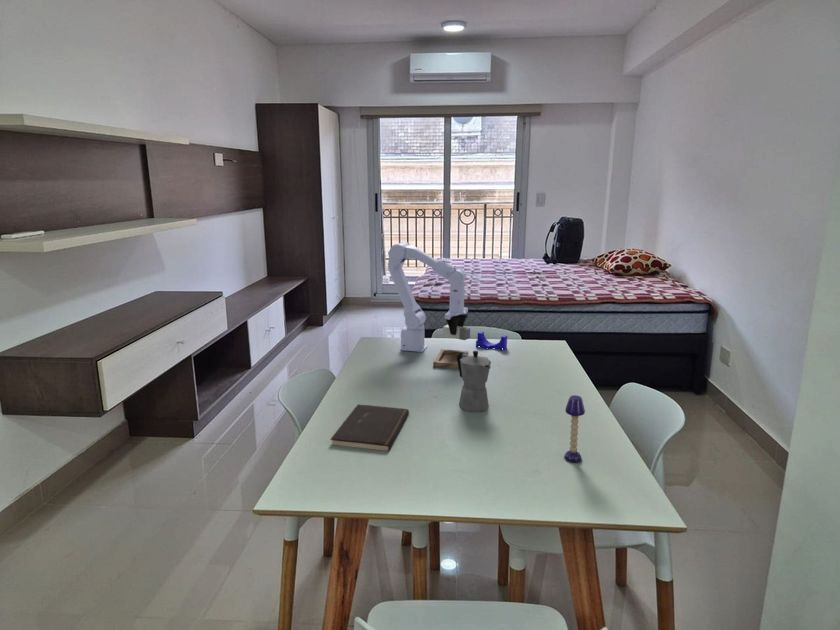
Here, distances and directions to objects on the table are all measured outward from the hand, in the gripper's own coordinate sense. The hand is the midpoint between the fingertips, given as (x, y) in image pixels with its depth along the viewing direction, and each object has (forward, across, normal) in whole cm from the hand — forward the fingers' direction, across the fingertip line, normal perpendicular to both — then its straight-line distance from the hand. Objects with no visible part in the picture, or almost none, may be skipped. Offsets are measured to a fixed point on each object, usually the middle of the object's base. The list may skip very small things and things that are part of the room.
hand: (456, 333), depth 215 cm
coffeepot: (+9, -41, -31) cm, 52 cm away
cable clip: (+9, +15, -8) cm, 19 cm away
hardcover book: (+9, -72, -16) cm, 74 cm away
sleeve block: (+2, 0, 0) cm, 2 cm away
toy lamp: (+9, -55, -68) cm, 88 cm away
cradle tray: (+8, -10, -4) cm, 13 cm away
